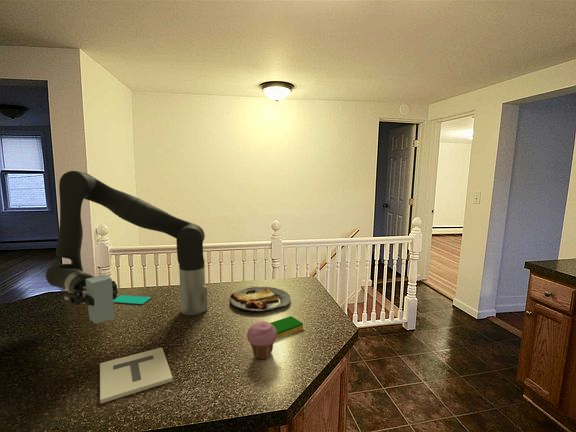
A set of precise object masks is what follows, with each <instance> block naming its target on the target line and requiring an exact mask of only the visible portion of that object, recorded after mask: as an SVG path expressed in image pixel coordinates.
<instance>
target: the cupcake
mask: <svg viewBox="0 0 576 432" xmlns="http://www.w3.org/2000/svg"><path fill="white" fill-rule="evenodd" d="M270 323H271V322H269V321H265V320H261V321H257V322H254V323H252V324H251V325H249V328H247V332H246V338H247V341H248V343H249V344H250V346H251V349H252V354H253V357H255V358H257V359H259V360H260V359H261V360H267V359H269V357H270V356H271V354H272V353H273V349H274V343H275V342H276V341H277V339H278V338H277V330H276V328H275V327H274V326H273V325H272V324H270ZM276 338H277V339H276Z"/></svg>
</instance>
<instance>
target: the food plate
mask: <svg viewBox="0 0 576 432" xmlns="http://www.w3.org/2000/svg"><path fill="white" fill-rule="evenodd" d="M228 300H229V302H230V304H231V306H233V307H236V308H238V309H242V310H243V311H249V312H255V311H256V312H261V311H263V312H264V311H265V312H268V311H269V312H271V311H272V310H275V309H277V308H279V307H280V308H281V307H286V306H288V304H290V303H291V295H290V294H289V293H288V292H287V291H285V290H284V289H280V288H277V287H272V286H251V287H247V288H244V289H240V290H238V291H235V292H232V293H231V294H230V298H229V299H228ZM275 303H278V304H275Z"/></svg>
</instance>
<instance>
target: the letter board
mask: <svg viewBox="0 0 576 432" xmlns="http://www.w3.org/2000/svg"><path fill="white" fill-rule="evenodd" d="M168 363H169V362H168V361H167V358H166V354H165V352H164V350H163V347H158V348H154V349H151V350H147V351H143V352H140V353H139V352H138V353H135V354H130V355H127V356H123V357H119V358H115V359H111V360H108V361H103V362H100V363H99V391H100V392H99V403H100V404H104V403H107V402H111V401H113V400H116V399H120V398H123V397H126V396H129V395H132V394H136V393H139V392H142V391H145V390H149V389H152V388H156V387H159V386H161V385H165V384H168V383H171V382H173V380H174V379H173V375H172V371H171V369H170V366H169V364H168Z"/></svg>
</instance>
